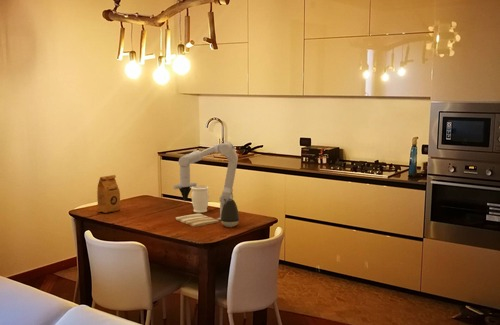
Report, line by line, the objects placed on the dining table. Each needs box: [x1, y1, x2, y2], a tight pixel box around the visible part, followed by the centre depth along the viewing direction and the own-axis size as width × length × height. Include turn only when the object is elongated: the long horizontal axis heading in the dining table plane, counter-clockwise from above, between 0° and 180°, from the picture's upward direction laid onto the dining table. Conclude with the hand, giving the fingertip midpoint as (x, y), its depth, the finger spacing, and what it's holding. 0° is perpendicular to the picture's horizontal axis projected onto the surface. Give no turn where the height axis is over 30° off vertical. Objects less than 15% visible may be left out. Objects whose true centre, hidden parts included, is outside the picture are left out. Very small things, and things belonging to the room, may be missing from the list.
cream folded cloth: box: [175, 212, 209, 224], centre depth 298 cm, size 9×16×1 cm, turn 130°
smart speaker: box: [220, 198, 240, 228], centre depth 283 cm, size 10×10×15 cm
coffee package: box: [96, 174, 122, 214], centre depth 314 cm, size 10×12×22 cm
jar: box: [190, 185, 210, 214], centre depth 316 cm, size 11×10×15 cm
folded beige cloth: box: [185, 216, 220, 228], centre depth 290 cm, size 9×16×1 cm, turn 130°
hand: (185, 200), depth 299 cm, fingers closed
